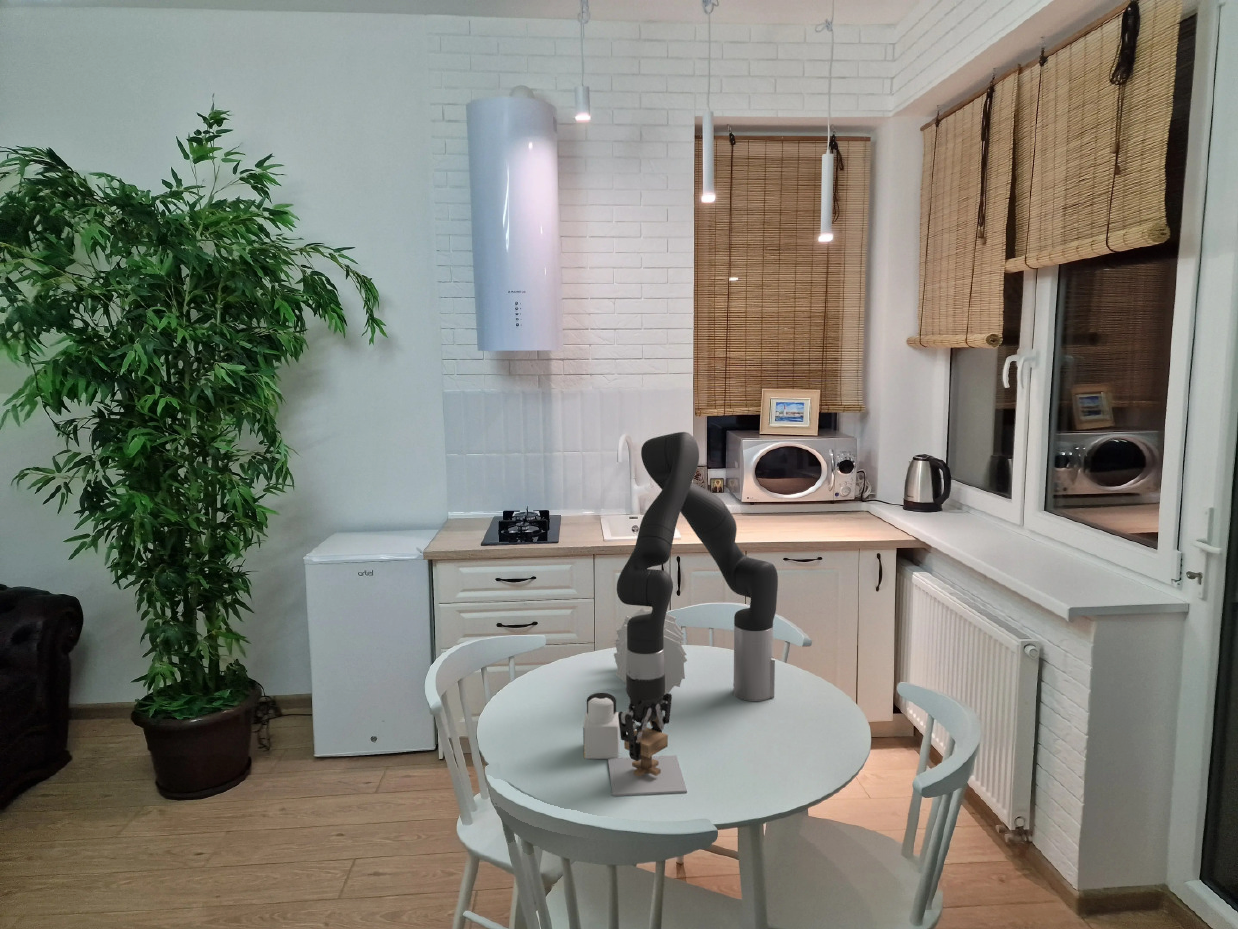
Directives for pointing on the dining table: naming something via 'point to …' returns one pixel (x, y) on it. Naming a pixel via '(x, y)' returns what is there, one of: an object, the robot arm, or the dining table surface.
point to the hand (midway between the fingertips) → (645, 753)
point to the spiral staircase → (671, 651)
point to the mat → (646, 777)
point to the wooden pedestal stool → (649, 751)
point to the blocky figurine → (601, 727)
